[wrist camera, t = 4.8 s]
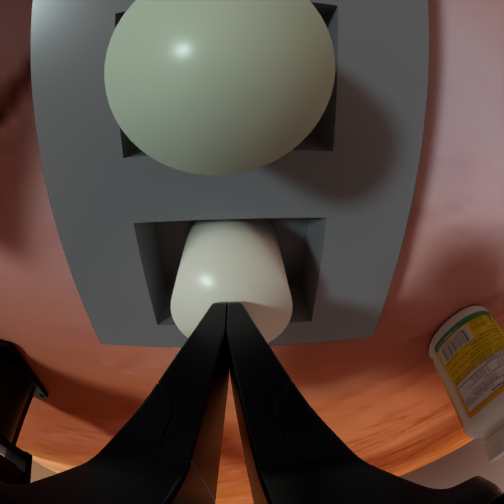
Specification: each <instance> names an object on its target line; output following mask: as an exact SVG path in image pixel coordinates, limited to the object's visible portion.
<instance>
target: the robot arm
mask: <svg viewBox="0 0 504 504" xmlns="http://www.w3.org/2000/svg"><path fill="white" fill-rule="evenodd" d="M229 369H230V378H231V385H232V391H233V397H234V402H235V408H236V414H237V420H238V425H239V431H240V436H241V441H242V447H243V452H244V457H245V462H246V467H247V472H248V477H249V482H250V487H251V492H252V497H253V500H254V504H504V492H503V493H502V491H501V489H500V488H499V487H498V486H496V484H494V483H492V482H491V481H489V480H487V479H484V478H482V477H480V476H475V477H473V478H471V479H469V480H467V481H465V482H463V483H461V484H459V485H456V486H454V487H451V488H448V489H432V488H428V487H424V486H422V485H419V484H416V483H413V482H411V481H408V480H406V479H403V478H401V477H398V476H396V475H393V474H391V473H388V472H386V471H384V470H381V469H379V468H377V467H374V466H372V465H370V464H368V463H367V462H365V461H363V460H362V459H360V458H359V457H358V456H357V455H356V454H354V453H353V452H352V451H351V450H350V449H349V448H348V447H347V446H346V445H345V444H344V443H343V442H342V440H341V439H340V438H339V437H338V436H337V435H336V434H335V433H334V432H333V431H332V430H331V429H330V428H329V427H328V426H327V425H326V424H325V422H324V421H323V420H322V419H321V418H320V417H319V416H318V415H317V413H316V412H315V411H314V410H313V409H312V408H311V406H310V405H309V404H308V403H307V401H306V400H305V399H304V397H303V396H302V394H301V393H300V392H299V390H298V389H297V387H296V386H295V384H294V383H293V382H291V381H292V380H291V378H290V377H289V375H288V374H287V372H286V371H285V369H284V368H283V366H282V365H281V363H280V362H279V360H278V359H277V357H276V356H275V354H274V353H273V351H272V349H271V348H270V346H269V345H268V343H267V342H266V340H265V339H264V337H263V336H262V334H261V332H260V331H259V329H258V328H257V326H256V325H255V323H254V321H253V320H252V318H251V317H250V315H249V314H248V312H247V310H246V309H245V307H244V306H243V304H242V303H241V302H230V303H228V304H226V303H213V304H212V305H211V306H210V308H209V309H208V311H207V312H206V313H205V315H204V316H203V318H202V319H201V321H200V322H199V324H198V325H197V326H196V328H195V329H194V331H193V332H192V334H191V335H190V337H189V338H188V340H187V341H186V342H185V344H184V345H183V347H182V348H181V350H180V351H179V353H178V354H177V356H176V357H175V358H174V360H173V361H172V363H171V364H170V366H169V367H168V369H167V370H166V372H165V373H164V374H163V376H162V377H161V379H160V380H159V384H156V386H155V387H154V389H153V390H152V392H151V393H150V395H149V396H148V397H147V399H146V400H145V401H144V403H143V404H142V405H141V407H140V408H139V409H138V410H137V411H136V413H135V414H134V415H133V416H132V417H131V418H130V420H129V421H128V422H127V423H126V424H125V425H124V426H123V427H122V428H121V430H120V431H119V432H118V433H117V434H116V435H115V436H114V437H113V438H112V439H111V441H110V442H109V443H108V444H107V445H106V446H105V447H104V448H103V449H102V450H101V451H100V452H99V453H98V454H97V455H96V456H95V457H93V458H92V459H91V460H89V461H88V462H86V463H84V464H82V465H80V466H77V467H74V468H72V469H69V470H66V471H64V472H61V473H58V474H56V475H53V476H50V477H47V478H44V479H41V480H38V481H35V482H32V483H30V479H31V464H32V455H31V454H29V453H27V452H24V451H22V450H21V449H19V448H18V447H16V442H17V439H18V436H19V433H20V430H21V428H22V425H23V422H24V419H25V416H26V414H27V411H28V408H29V406H30V403H31V400H32V398H33V396H34V397H38V398H42V399H47V397H48V393H47V392H46V390H45V389H44V388H43V386H42V385H41V384H40V382H39V381H38V380H37V378H36V377H35V376H34V374H33V373H32V372H31V370H30V369H29V367H28V366H27V365H26V363H25V362H24V360H23V359H22V357H21V356H20V354H19V353H18V351H17V350H16V348H15V347H14V346H13V345H12V344H10V343H8V342H3V341H0V453H2V454H3V455H5V457H3V456H2V455H0V504H215V500H216V490H217V481H218V472H219V463H220V453H221V444H222V435H223V426H224V418H225V409H226V400H227V391H228V382H229Z"/></svg>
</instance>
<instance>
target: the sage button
mask: <svg viewBox="0 0 504 504" xmlns="http://www.w3.org/2000/svg"><path fill="white" fill-rule="evenodd" d="M334 78H335V54H334V49H333V44H332V40H331V37H330V34H329V31H328V28H327V26H326V24H325V23H324V21H323V19H322V17H321V15H320V14H319V12H318V11H317V10H316V8H315V7H314V6H313V4H312V3H311V2H310V1H309V0H136V1H135V2H134V3H133V4H132V5H131V6H130V7H129V8H128V10H127V11H126V12H125V13H124V15H123V16H122V18H121V20H120V21H119V23H118V24H117V26H116V28H115V30H114V32H113V35H112V37H111V39H110V42H109V46H108V49H107V53H106V59H105V65H104V81H105V89H106V95H107V99H108V102H109V106H110V108H111V110H112V113H113V115H114V117H115V119H116V121H117V123H118V124H119V126H120V128H121V129H122V131H123V132H124V133H125V134H126V135H127V137H128V138H129V139H130V140H131V141H132V142H133V143H134V144H135V145H136V146H137V147H138V148H139V149H140V150H142V151H143V152H144V153H146V154H147V155H148V156H150V157H151V158H153V159H155V160H157V161H158V162H160V163H162V164H164V165H166V166H169V167H172V168H174V169H177V170H180V171H184V172H188V173H192V174H199V175H214V176H221V175H232V174H238V173H243V172H248V171H251V170H254V169H257V168H260V167H263V166H265V165H267V164H269V163H272V162H274V161H276V160H278V159H279V158H281V157H282V156H284V155H286V154H287V153H289V152H290V151H291V150H292V149H294V148H295V147H296V146H297V145H299V144H300V143H301V142H302V141H303V140H304V139H305V138H306V137H307V136H308V135H309V134H310V132H311V131H312V130H313V128H314V127H315V126H316V125H317V123H318V122H319V120H320V118H321V117H322V115H323V113H324V111H325V109H326V107H327V104H328V102H329V99H330V97H331V93H332V89H333V85H334Z"/></svg>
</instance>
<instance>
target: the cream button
mask: <svg viewBox="0 0 504 504" xmlns="http://www.w3.org/2000/svg"><path fill="white" fill-rule="evenodd" d="M230 302H241V303H242V304H243V306H244V307H245V309H246V310H247V312H248V314H249V315H250V317H251V318H252V320H253V321H254V323H255V325H256V326H257V328H258V329H259V331H260V332H261V334H262V336H263V337H264V339H265V340H266V342H267V343H269V342H271V341H272V340H274V339H275V338H276V337H278V336H279V335H280V334H281V333H282V332H283V330H284V329H285V328H286V326H287V325H288V323H289V321H290V318H291V315H292V307H293V304H292V298H291V294H290V290H289V285H288V281H287V277H286V272H285V268H284V264H283V260H282V256H281V252H280V247H279V243H278V239H277V235H276V232H275V229H274V226H273V225H272V223H271V221H270V220H269V219H268V218H255V219H217V220H194V221H193V223H192V224H191V226H190V229H189V232H188V235H187V239H186V243H185V246H184V250H183V254H182V258H181V262H180V266H179V269H178V273H177V277H176V281H175V285H174V290H173V294H172V298H171V307H170V308H171V314H172V317H173V320H174V322H175V324H176V326H177V327H178V328H179V330H180V331H181V332H182V333H183V334H184V335H185V336H186V337H187V338H189V337H190V335H191V334H192V332H193V331H194V329H195V328H196V326H197V325H198V324H199V322H200V321H201V319H202V318H203V316H204V315H205V313H206V312H207V311H208V309H209V308H210V306H211V305H212V304H213V303H226V304H228V303H230Z"/></svg>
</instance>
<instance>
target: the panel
mask: <svg viewBox="0 0 504 504" xmlns="http://www.w3.org/2000/svg"><path fill="white" fill-rule="evenodd" d="M135 1H136V0H33V3H32V16H31V82H32V96H33V107H34V116H35V125H36V132H37V139H38V145H39V151H40V157H41V163H42V168H43V173H44V178H45V182H46V187H47V191H48V196H49V200H50V204H51V208H52V212H53V215H54V219H55V223H56V226H57V230H58V233H59V236H60V240H61V243H62V246H63V249H64V252H65V256H66V259H67V262H68V264H69V267H70V270H71V273H72V276H73V279H74V281H75V284H76V287H77V289H78V292H79V294H80V297H81V300H82V302H83V305H84V307H85V309H86V312H87V314H88V317H89V319H90V321H91V323H92V326H93V328H94V330H95V332H96V335H97V337H98V339H99V341H100V343H101V344H114V345H131V346H153V347H183V345H184V344H185V342H186V341H187V340H188V338H187V337H186V336H185V335H184V334H183V333H182V332H181V331H180V330H179V328H178V327H177V326H176V324H175V322H174V320H173V317H172V314H171V308H170V307H171V298H172V294H173V290H174V285H175V281H176V277H177V273H178V269H179V266H180V262H181V258H182V254H183V250H184V246H185V243H186V239H187V235H188V232H189V229H190V226H191V224H192V223H193V221H194V220H217V219H255V218H268V219H269V220H270V221H271V223H272V225H273V226H274V229H275V232H276V235H277V239H278V243H279V247H280V252H281V256H282V260H283V264H284V268H285V272H286V277H287V281H288V285H289V290H290V294H291V298H292V304H293V307H292V315H291V318H290V321H289V323H288V325H287V326H286V328H285V329H284V330H283V332H282V333H281V334H280V335H279V336H278V337H276V338H275V339H274V340H272V341H271V342H269V343H268V345H269V346H272V345H290V344H304V343H317V342H328V341H338V340H348V339H357V338H365V337H373V335H374V333H375V330H376V327H377V324H378V321H379V319H380V316H381V313H382V310H383V307H384V304H385V301H386V298H387V295H388V291H389V288H390V285H391V282H392V278H393V275H394V272H395V268H396V265H397V261H398V257H399V254H400V250H401V246H402V242H403V238H404V234H405V230H406V226H407V222H408V217H409V213H410V208H411V204H412V199H413V194H414V189H415V183H416V178H417V172H418V166H419V160H420V154H421V147H422V139H423V132H424V123H425V114H426V103H427V90H428V72H429V12H428V0H309V1H310V2H311V3H312V4H313V6H314V7H315V8H316V10H317V11H318V12H319V14H320V15H321V17H322V19H323V21H324V23H325V24H326V26H327V28H328V31H329V34H330V37H331V40H332V44H333V49H334V54H335V78H334V85H333V89H332V93H331V97H330V99H329V102H328V104H327V107H326V109H325V111H324V113H323V115H322V117H321V118H320V120H319V122H318V123H317V125H316V126H315V127H314V128H313V130H312V131H311V132H310V134H309V135H308V136H307V137H306V138H305V139H304V140H303V141H302V142H301V143H300V144H299V145H297V146H296V147H295V148H294V149H292V150H291V151H290V152H289V153H287V154H286V155H284V156H282V157H281V158H279V159H278V160H276V161H274V162H272V163H269V164H267V165H265V166H263V167H260V168H257V169H254V170H251V171H248V172H243V173H238V174H232V175H221V176H214V175H199V174H192V173H188V172H184V171H180V170H177V169H174V168H172V167H169V166H166V165H164V164H162V163H160V162H158V161H157V160H155V159H153V158H151V157H150V156H148V155H147V154H146V153H144V152H143V151H142V150H140V149H139V148H138V147H137V146H136V145H135V144H134V143H133V142H132V141H131V140H130V139H129V138H128V137H127V135H126V134H125V133H124V132H123V131H122V129H121V128H120V126H119V124H118V123H117V121H116V119H115V117H114V115H113V113H112V110H111V108H110V106H109V102H108V99H107V95H106V89H105V81H104V65H105V59H106V53H107V49H108V46H109V42H110V39H111V37H112V35H113V32H114V30H115V28H116V26H117V24H118V23H119V21H120V20H121V18H122V16H123V15H124V13H125V12H126V11H127V10H128V8H129V7H130V6H131V5H132V4H133V3H134V2H135Z"/></svg>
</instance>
